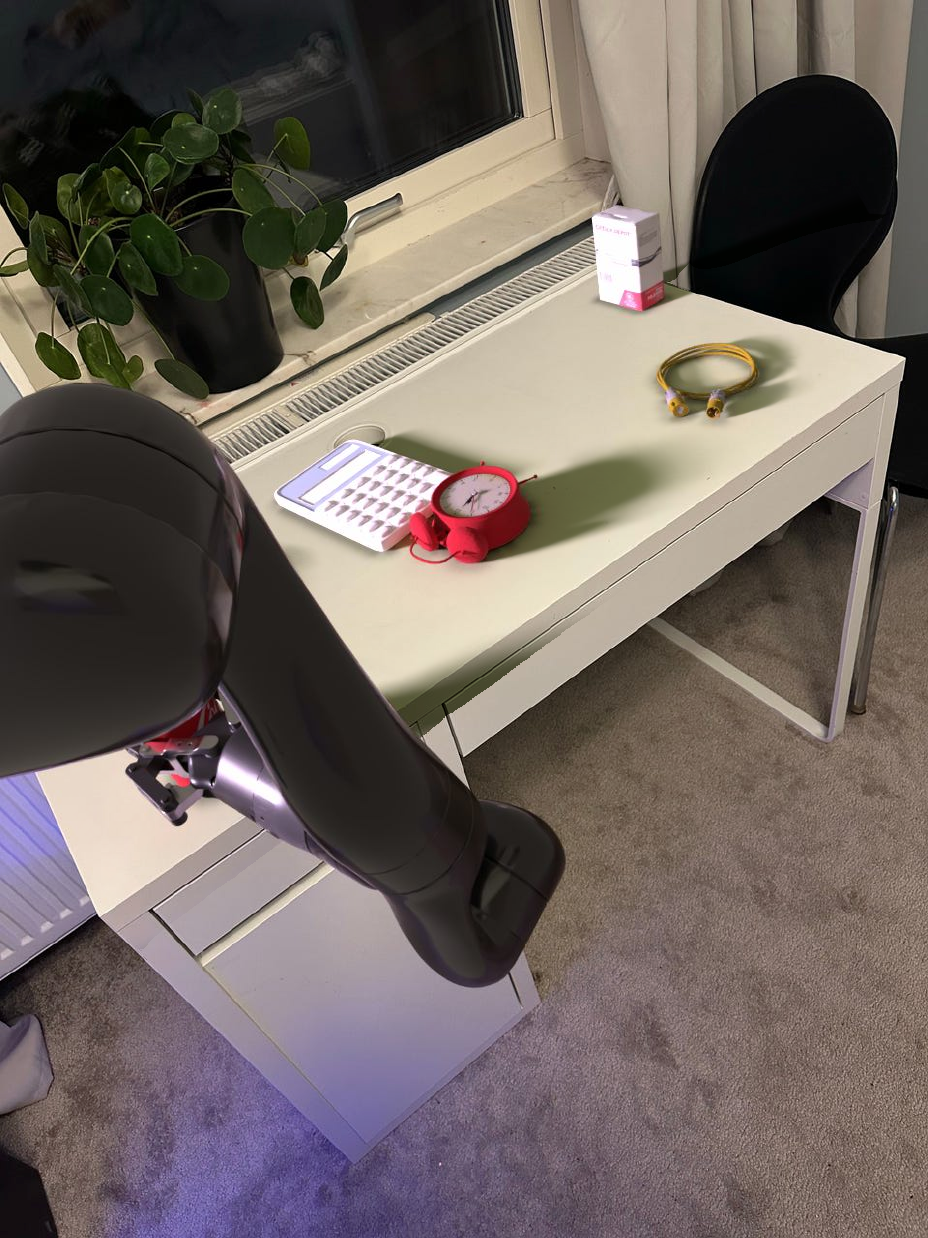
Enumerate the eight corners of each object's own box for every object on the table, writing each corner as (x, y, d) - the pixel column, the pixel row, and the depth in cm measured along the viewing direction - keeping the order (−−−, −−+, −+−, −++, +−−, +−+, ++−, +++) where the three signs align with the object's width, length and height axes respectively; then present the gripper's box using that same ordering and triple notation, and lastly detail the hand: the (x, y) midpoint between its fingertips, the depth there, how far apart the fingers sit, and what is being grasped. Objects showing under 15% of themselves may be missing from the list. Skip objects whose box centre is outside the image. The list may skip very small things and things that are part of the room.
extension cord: (619, 407, 100) (618, 392, 98) (691, 345, 107) (690, 330, 105) (712, 428, 92) (712, 412, 91) (782, 361, 99) (783, 345, 98)
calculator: (384, 556, 88) (379, 542, 87) (273, 504, 100) (267, 491, 99) (468, 488, 94) (465, 474, 93) (355, 447, 106) (350, 433, 105)
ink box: (666, 297, 118) (662, 210, 110) (641, 312, 116) (634, 224, 108) (623, 286, 124) (615, 202, 116) (598, 300, 122) (589, 215, 114)
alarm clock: (550, 470, 86) (458, 527, 77) (551, 525, 90) (463, 586, 80) (471, 452, 92) (377, 502, 83) (475, 504, 96) (384, 558, 86)
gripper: (349, 678, 60) (205, 613, 70) (200, 832, 53) (61, 737, 62) (378, 743, 65) (240, 674, 75) (246, 892, 58) (111, 796, 67)
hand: (159, 703), depth 68 cm, fingers closed on beverage can, 6 cm apart
